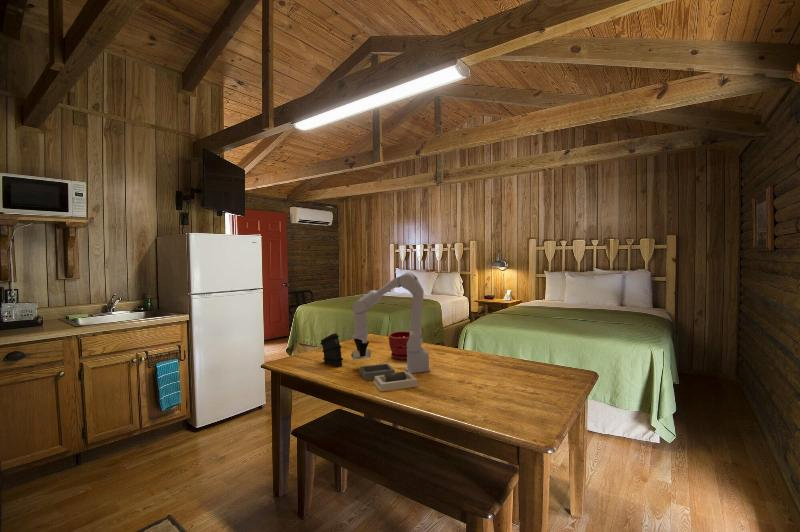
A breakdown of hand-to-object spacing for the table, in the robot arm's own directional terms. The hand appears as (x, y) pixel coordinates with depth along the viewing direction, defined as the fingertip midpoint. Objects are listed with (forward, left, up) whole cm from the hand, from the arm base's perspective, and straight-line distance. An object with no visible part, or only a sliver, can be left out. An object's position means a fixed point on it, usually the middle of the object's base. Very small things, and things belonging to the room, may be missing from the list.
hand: (361, 355), depth 178 cm
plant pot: (-23, -9, -6) cm, 25 cm away
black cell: (-8, +26, -5) cm, 27 cm away
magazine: (+12, -12, -6) cm, 18 cm away
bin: (-4, +12, -6) cm, 14 cm away
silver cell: (0, -1, -1) cm, 2 cm away
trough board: (-8, +26, -6) cm, 28 cm away
